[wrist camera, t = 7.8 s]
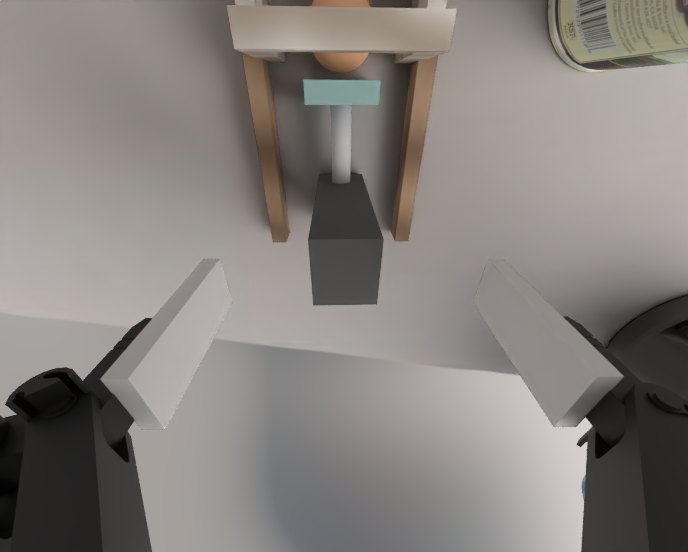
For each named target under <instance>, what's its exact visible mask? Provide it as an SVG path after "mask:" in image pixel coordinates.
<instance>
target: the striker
mask: <svg viewBox="0 0 688 552" xmlns="http://www.w3.org/2000/svg"><path fill="white" fill-rule="evenodd" d="M380 83H381V80H303V85H304V100H305V105H331V149H332V174H320V175H319V181H318V187H317V192H316V198H315V204H314V209H313V215H312V221H311V226H310V232H309V238H308V244H309V256H310V269H311V282H312V294H313V305H361V304H377V298H378V288H379V278H380V268H381V258H382V248H383V236H382V233H381V230H380V227H379V224H378V221H377V218H376V216H375V213H374V210H373V207H372V204H371V201H370V198H369V195H368V192H367V189H366V186H365V183H364V180H363V177H362V174H350V171H351V118H352V105H379V97H380Z"/></svg>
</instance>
